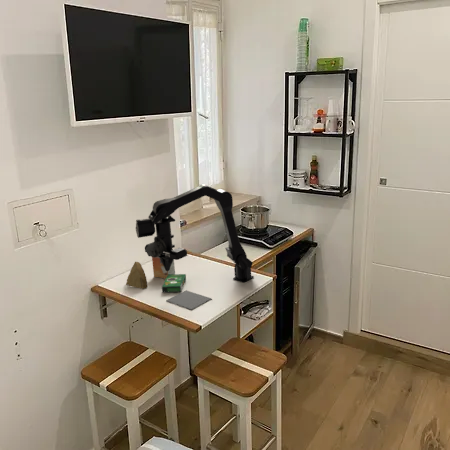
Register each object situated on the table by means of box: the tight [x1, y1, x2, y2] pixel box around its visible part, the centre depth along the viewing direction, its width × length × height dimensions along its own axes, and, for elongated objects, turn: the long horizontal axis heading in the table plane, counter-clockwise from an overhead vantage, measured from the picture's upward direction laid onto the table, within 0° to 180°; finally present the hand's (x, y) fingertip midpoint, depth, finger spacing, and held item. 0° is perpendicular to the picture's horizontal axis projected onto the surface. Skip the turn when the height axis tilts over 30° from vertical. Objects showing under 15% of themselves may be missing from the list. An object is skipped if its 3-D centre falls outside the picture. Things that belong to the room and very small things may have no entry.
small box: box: [151, 257, 176, 280], centre depth 211 cm, size 8×6×10 cm
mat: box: [166, 289, 212, 311], centre depth 187 cm, size 14×11×1 cm
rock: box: [125, 261, 148, 290], centre depth 203 cm, size 11×9×10 cm
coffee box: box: [161, 273, 187, 293], centre depth 200 cm, size 8×3×13 cm
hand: (167, 270), depth 190 cm, fingers closed
